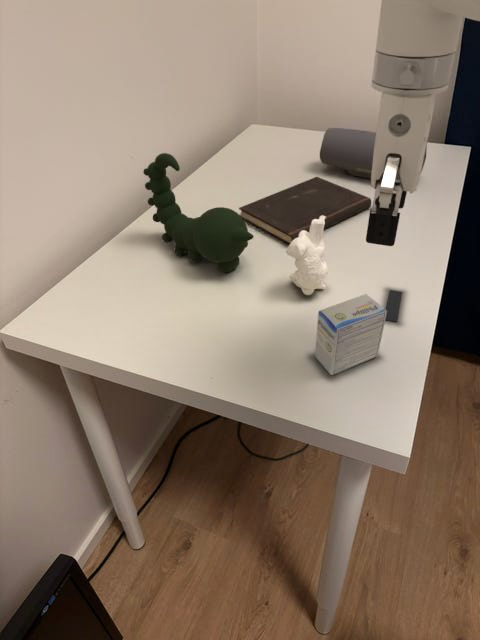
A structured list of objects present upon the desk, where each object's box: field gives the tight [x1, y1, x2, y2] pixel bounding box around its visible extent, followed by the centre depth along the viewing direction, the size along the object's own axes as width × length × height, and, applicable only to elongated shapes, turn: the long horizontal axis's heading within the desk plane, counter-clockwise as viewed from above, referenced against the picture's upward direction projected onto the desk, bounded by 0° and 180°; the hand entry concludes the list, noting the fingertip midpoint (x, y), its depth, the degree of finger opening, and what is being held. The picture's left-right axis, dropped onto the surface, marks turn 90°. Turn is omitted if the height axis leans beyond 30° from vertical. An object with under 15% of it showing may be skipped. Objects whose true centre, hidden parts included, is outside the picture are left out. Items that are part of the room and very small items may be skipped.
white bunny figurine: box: [285, 215, 329, 296], centre depth 78 cm, size 8×7×12 cm
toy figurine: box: [142, 152, 255, 273], centre depth 85 cm, size 9×19×25 cm
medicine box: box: [314, 293, 387, 376], centre depth 66 cm, size 8×4×9 cm, turn 116°
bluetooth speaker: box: [319, 127, 428, 180], centre depth 113 cm, size 23×9×10 cm, turn 58°
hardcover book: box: [238, 176, 372, 246], centre depth 102 cm, size 16×23×2 cm
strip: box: [385, 289, 403, 323], centre depth 77 cm, size 2×8×1 cm, turn 160°
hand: (385, 223), depth 59 cm, fingers open, 9 cm apart
